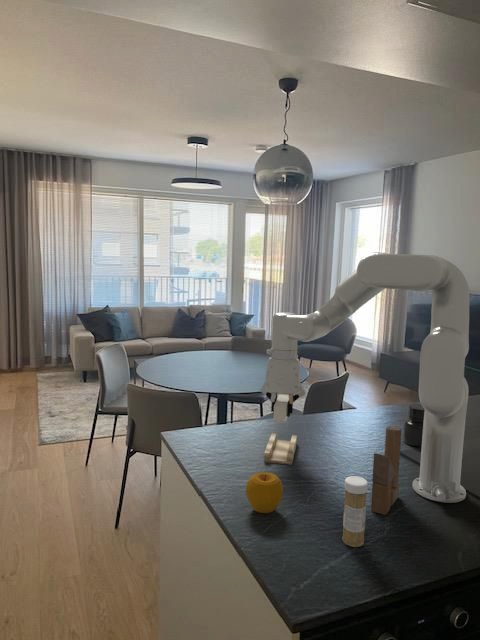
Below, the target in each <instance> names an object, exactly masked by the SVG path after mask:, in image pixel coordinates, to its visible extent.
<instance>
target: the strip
mask: <svg viewBox="0 0 480 640" xmlns="http://www.w3.org/2000/svg"><path fill="white" fill-rule="evenodd" d="M288 401H289V395H288V394H278V396H277V397H276V402H275V405H274V415H272V416H273V419H272V421H273V422H280V423H281V422H283V423H286V422H287V418H288V416H287V407H288Z"/></svg>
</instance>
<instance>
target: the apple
mask: <svg viewBox="0 0 480 640" xmlns="http://www.w3.org/2000/svg"><path fill="white" fill-rule="evenodd" d="M245 494H246V498H247V500H248V503H249V505H250V507H251V508H252V509H253V511H255V512H257V513H261V514H271V513H272V512H274V511H275V510H276V509H277V508H278V506H279V505H280V504H281V501H282V498H283V496H284V495H283V494H284V486H283V483H282V481H281V479H280V478H279V477H278V476H277V475H276V474H274V473H271V472H265V471H261V472H257V473H254V474H252V475H251V476H250V477H249V479H248V480H247V482H246V485H245Z"/></svg>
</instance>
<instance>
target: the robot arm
mask: <svg viewBox="0 0 480 640" xmlns="http://www.w3.org/2000/svg"><path fill="white" fill-rule="evenodd" d="M385 289H386V290H399V291H411V292H412V291H413V292H427V291H428V292H429V291H430V293H431V297H432V302H431V310H430V311H431V316H430V317H431V319H430V321H431V322H430V332H429V334H428V335H427V336H425V338H424V340H423V342H422V343H421V347H420V353H419V354H420V356H419V374H418V375H419V376H418V377H419V378H418V379H419V380H418V397H419V398H418V399H419V403H420V404H422V406H423V408H424V409H425V412H424V422H423V435H422V447H421V448H420V449H421V451H420V452H421V453H420V465H419V477H416V478H415V479H413V481H412V490H414V492H415V493H416V494H418V495H419V496H421V497H423V498H425V499H428V500H431V501H434V502H438V503H446V504H447V503H448V504H453V503H459V502H461V501H464V500H465V499H466V497H467V492H466V489H465V487H464V486H462V485H461V475H462V463H463V449H464V437H465V428H466V418H467V409H468V402H469V384H468V381H467V379H466V377H465V365H466V364H465V361H466V357H467V355H468V353H469V350H470V343H469V342H470V341H469V339H470V338H469V333H470V303H471V302H470V289H469V284H468V281H467V278H466V276H465V275H464V273H463V272H462V270H461V269H460V268H459V267H458V266H457V265H456V264H454V263H452V262H451V261H449V260H447V259H445V258H443V257H440V256H438V255H433V254H409V253H408V254H406V253H405V254H403V253H402V254H401V253H387V252H378V251H377V252H376V251H375V252H370V253H368V254H365V256H363V257H361V259H360V260H359V262H358V265H357V267H356V269H355V270H354V272H352V273H351V274H350V275H348V276H347V277H346V278H344V280H342V281H341V282H339V283H338V284H337V285H336V287H335V292H334V294H333V296H332V297H331V298H330V299H329V300H328V301H327V302H326V303H324V304H323V305H322V306H321V307H320V308H319V309H317V310H316V311H314V312H312V313H307V314H300V315H298V314H297V313H294V312H288V311H281V312H280V311H279V312H275V313H274V314H273V316H272V323H271V324H272V325H271V326H272V327H271V328H272V330H271V348H270V349H266V355H269V356H270V357H269V358H267V359H268V360H267V365H266V371H265V381H264V383H263V384H262V386H261V388H260V389H259V391H260V393H262V394H263V395H265V396H266V397H267V398H268V399H269V400H270V403H271V412H272V416H274V405H275V402H276V400H277V394H278V395H289V401H288V407H287V418H288V417H290V416H291V414H293V411H294V410H293V406H294V403H295V402H296V401H297V400H298V399H300V398H302V397H304V396H305V395H306V391H305V389H304V386H303V385H302V383H301V366H300V365H301V364H300V359H299V358H298V341H300V342H304V343H307V342H311V341H315V340H317V339H318V340H319V339H320V338H323V337H325V336H326V335H328V334H330V333H331V332H332V331H333V330H334V329H336V328H337V327H339V326H341V324H343V323H344V322H345V321H346V320H348V318H350V317H351V316H352V315H354V314H355V313H356V312H357V311H358V310H359V309H360V308H361V307H363V306H364V305H365V304H367V303H368V302H369V301H370V300H372V299H373V298H375V297H376V296H377V295H378V294H380V293H381V292H382V291H384V290H385Z"/></svg>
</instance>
